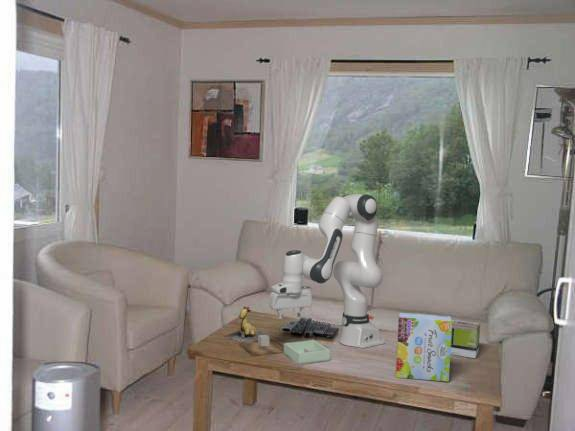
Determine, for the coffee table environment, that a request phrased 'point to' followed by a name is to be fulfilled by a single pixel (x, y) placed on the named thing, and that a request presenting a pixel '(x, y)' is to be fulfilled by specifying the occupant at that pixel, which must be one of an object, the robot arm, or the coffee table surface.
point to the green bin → (299, 357)
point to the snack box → (423, 347)
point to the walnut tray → (262, 347)
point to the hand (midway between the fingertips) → (290, 317)
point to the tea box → (465, 338)
